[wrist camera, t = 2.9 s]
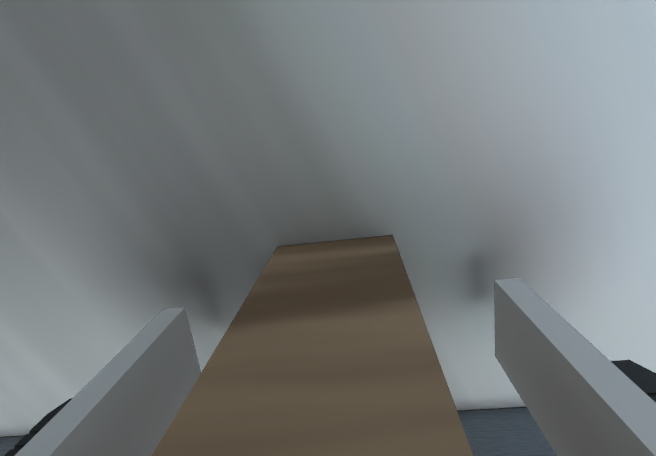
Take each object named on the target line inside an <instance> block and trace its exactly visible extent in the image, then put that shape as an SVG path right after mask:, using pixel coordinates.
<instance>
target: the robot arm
mask: <svg viewBox="0 0 656 456" xmlns="http://www.w3.org/2000/svg"><path fill="white" fill-rule="evenodd" d="M494 305H495V357H496V358H497V360H498V361H499V363H500V365H501V366H502V368H503V370H504V371H505V373H506V374H507V376H508V378H509V379H510V381H511V382H512V384H513V386H514V387H515V389H516V391H517V392H518V394H519V395H520V397H521V399H522V400H523V402H524V404H525V405H526V407H527V408H528V410H529V412H530V413H531V415H532V416H533V418H534V420H535V421H536V423H537V425H538V426H539V428H540V429H541V431H542V433H543V434H544V436H545V438H546V439H547V441H548V442H549V444H550V446H551V447H552V449H553V450H554V452H555V454H556V455H557V456H656V373H654V372H652V371H650V370H648V369H646V368H644V367H642V366H640V365H638V364H636V363H634V362H632V361H630V360H621V361H610V360H609V359H608V358H606V357H605V356H604V355H603V354H602V353H601V352H600V351H599V350H598V349H597V348H596V347H594V346H593V345H592V344H591V343H590V342H589V341H588V340H587V339H586V338H585V337H584V336H582V335H581V334H580V333H579V332H578V331H577V330H576V329H575V328H574V327H573V326H572V325H570V324H569V323H568V322H567V321H566V320H565V319H564V318H563V317H562V316H561V315H560V314H558V313H557V312H556V311H555V310H554V309H553V308H552V307H551V306H550V305H549V304H548V303H546V302H545V301H544V300H543V299H542V298H541V297H540V296H539V295H538V294H537V293H536V292H534V291H533V290H532V289H531V288H530V287H529V286H528V285H527V284H526V283H525V282H524V281H523V280H521V279H520V278H510V279H499V280H494ZM200 374H201V370H200V366H199V362H198V358H197V354H196V350H195V346H194V342H193V338H192V334H191V330H190V326H189V322H188V318H187V314H186V310H185V307H181V308H170V309H163V310H162V311H161V312H160V313H159V314H158V315H157V316H156V317H155V318H154V319H153V320H152V321H151V322H150V323H149V324H148V325H147V326H146V327H145V328H144V329H143V330H142V331H141V332H140V333H139V334H138V335H137V336H136V337H135V338H134V339H133V340H132V341H131V342H130V343H129V344H127V345H126V346H125V347H124V348H123V349H122V350H121V351H120V352H119V353H118V354H117V355H116V356H115V357H114V358H113V359H112V360H111V361H110V362H109V363H108V364H107V365H106V366H105V367H104V368H103V369H102V370H101V371H100V372H99V373H98V374H97V375H96V376H95V377H94V378H93V379H92V380H91V381H90V382H89V383H88V384H87V385H86V386H85V387H84V388H83V389H82V390H81V391H80V392H79V393H78V394H77V395H76V396H75V397H74V398H73V399H69V400H68V401H66V402H65V403H63V404H62V405H60V406H59V407H57V408H56V409H54V410H53V411H51V412H50V413H48V414H47V415H46V416H45V417H44V418H43V419H42V420H41V421H40V422H39V423H38V424H37V425H35V426H34V427H33V428H32V429H31V430H30V433H29V434H26V435H25V436H24V437H23V438H22V439H21V440H20V441H19V442H18V443H17V444H16V445H14V449H10V450H9V451H8V452H7V453H6V454H5V455H4V456H152V454H153V452H154V451H155V449H156V447H157V446H158V444H159V442H160V441H161V439H162V437H163V436H164V434H165V432H166V431H167V429H168V427H169V426H170V424H171V422H172V421H173V419H174V417H175V416H176V414H177V412H178V411H179V409H180V407H181V406H182V404H183V402H184V401H185V399H186V397H187V396H188V394H189V392H190V391H191V389H192V388H193V386H194V384H195V383H196V381H197V379H198V378H199V376H200Z"/></svg>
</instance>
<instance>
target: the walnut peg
mask: <svg viewBox="0 0 656 456" xmlns="http://www.w3.org/2000/svg"><path fill="white" fill-rule="evenodd" d="M152 456H473V453H472V451H471V448H470V445H469V443H468V440H467V437H466V434H465V432H464V429H463V426H462V423H461V421H460V418H459V415H458V412H457V410H456V407H455V404H454V402H453V399H452V396H451V393H450V391H449V388H448V385H447V382H446V380H445V377H444V374H443V372H442V369H441V366H440V363H439V361H438V358H437V355H436V352H435V350H434V347H433V344H432V341H431V339H430V336H429V333H428V331H427V328H426V325H425V322H424V320H423V317H422V314H421V311H420V309H419V306H418V303H417V301H416V298H415V295H414V292H413V290H412V287H411V284H410V281H409V279H408V276H407V273H406V271H405V268H404V265H403V262H402V260H401V257H400V254H399V251H398V249H397V246H396V243H395V240H394V238H393V235H388V236H378V237H368V238H358V239H348V240H338V241H329V242H319V243H309V244H299V245H289V246H279V247H277V248H276V250H275V252H274V253H273V255H272V256H271V258H270V260H269V261H268V263H267V265H266V266H265V268H264V270H263V271H262V273H261V275H260V276H259V278H258V280H257V281H256V283H255V285H254V286H253V288H252V290H251V291H250V293H249V295H248V296H247V298H246V300H245V301H244V303H243V305H242V306H241V308H240V310H239V311H238V313H237V315H236V316H235V318H234V320H233V321H232V323H231V324H230V326H229V328H228V329H227V331H226V333H225V334H224V336H223V338H222V339H221V341H220V343H219V344H218V346H217V348H216V349H215V351H214V353H213V354H212V356H211V358H210V359H209V361H208V363H207V364H206V366H205V368H204V369H203V371H202V373H201V374H200V376H199V378H198V379H197V381H196V383H195V384H194V386H193V388H192V389H191V391H190V392H189V394H188V396H187V397H186V399H185V401H184V402H183V404H182V406H181V407H180V409H179V411H178V412H177V414H176V416H175V417H174V419H173V421H172V422H171V424H170V426H169V427H168V429H167V431H166V432H165V434H164V436H163V437H162V439H161V441H160V442H159V444H158V446H157V447H156V449H155V451H154V452H153V454H152Z"/></svg>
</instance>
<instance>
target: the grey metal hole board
mask: <svg viewBox="0 0 656 456" xmlns="http://www.w3.org/2000/svg"><path fill="white" fill-rule="evenodd" d="M457 412H458V415H459V418H460V421H461V423H462V426H463V429H464V432H465V434H466V437H467V440H468V443H469V445H470V448H471V451H472V453H473V456H557V455H556V454H555V452H554V450H553V449H552V447H551V446H550V444H549V442H548V441H547V439H546V438H545V436H544V434H543V433H542V431H541V429H540V428H539V426H538V425H537V423H536V421H535V420H534V418H533V416H532V415H531V413H530V412H529V410H528V408H527V407H525V408H508V409H490V410H473V411H457ZM23 437H24V436H19V437H2V438H0V456H4V455H5V454H6V453H7V452H8V451H9V450H10V449H14V445H16V444H17V443H18V442H19V441H20V440H21V439H22V438H23Z"/></svg>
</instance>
